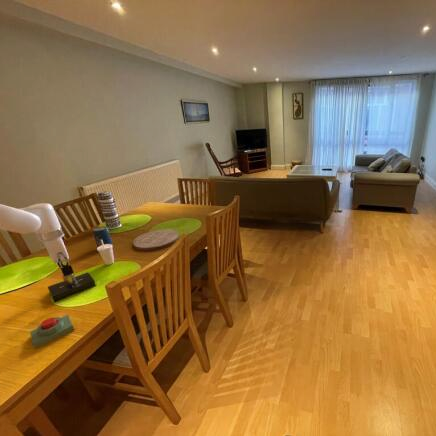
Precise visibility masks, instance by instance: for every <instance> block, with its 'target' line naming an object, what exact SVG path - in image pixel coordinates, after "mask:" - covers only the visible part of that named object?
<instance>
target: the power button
mask: <svg viewBox="0 0 436 436" xmlns="http://www.w3.org/2000/svg"><path fill="white" fill-rule="evenodd" d="M55 318H56V317H49V318H46V319H44V320H43V321H41V323H40V324H41V326H42V328H43V329H49V328H51V327H53V326H55V325H56V324H57V321H56V319H55Z"/></svg>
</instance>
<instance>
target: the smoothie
mask: <svg viewBox="0 0 436 436" xmlns="http://www.w3.org/2000/svg"><path fill="white" fill-rule="evenodd" d="M101 242H102V245H101V246H99V247H98V246H97V248H96V250H97V252H98V253H99V255H100V257H101V258H102V260H103V262H104V264H105V265H106V266H111V265H113V264H114V263H115V257H114V251H113V250H114V249H113V248H114V246H113V243H112V244H105V245H104V244H103V241H102V240H101ZM112 263H113V264H112ZM110 264H111V265H110Z"/></svg>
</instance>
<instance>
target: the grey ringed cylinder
mask: <svg viewBox="0 0 436 436" xmlns="http://www.w3.org/2000/svg"><path fill="white" fill-rule="evenodd" d="M96 197H97V200H98V206H99V209H100V211H101V213H102V214H103V220H104V222H105V223H104V224H105V227H106V228H107V229H108V230H114V229H118V228H120V227H122V222H121V219H120V216H119V214H118V211H117V210H118V209H117V206H116V205H117V204H116V199H115V198H114V197H113V195H112V192H110V191H108V190H106V191H105V190H103V191H100V192H98V193H97V194H96Z"/></svg>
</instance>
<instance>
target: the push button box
mask: <svg viewBox="0 0 436 436" xmlns="http://www.w3.org/2000/svg"><path fill="white" fill-rule="evenodd" d="M54 318H55V319H56V321H57V324H56V325H55V326H53V327H51V328H49V329H43V328H42V326H41V323H40V324H39V325H38V326H37V327H36V328H35V329H32V330H30V331H29V335H30V338H31V342H32V345H33V347H34V349H35V350H37V349H39V348H42V347H43V346H45V345H47V344H49V343H51V342H54V341H55V340H57V339H59V338H61V337H63V336H66V335H67V334H70V333H72V332H73V331H75V330H76V329H75V327H74V325H73V323H72V320H71V318H70V316H69V314H65V315H64V316H61V317H59V316H57V317H54Z"/></svg>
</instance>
